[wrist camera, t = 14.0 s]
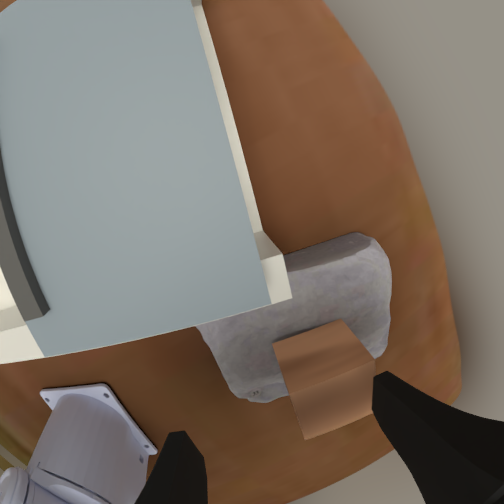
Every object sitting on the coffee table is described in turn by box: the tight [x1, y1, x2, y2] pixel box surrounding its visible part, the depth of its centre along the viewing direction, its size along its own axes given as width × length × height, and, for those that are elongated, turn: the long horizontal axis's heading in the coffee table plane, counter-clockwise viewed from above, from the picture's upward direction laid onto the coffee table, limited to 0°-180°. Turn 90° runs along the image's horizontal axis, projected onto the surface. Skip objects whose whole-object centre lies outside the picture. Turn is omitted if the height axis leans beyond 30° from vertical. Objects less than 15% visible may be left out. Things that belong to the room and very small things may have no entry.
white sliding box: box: [0, 0, 292, 364], centre depth 11 cm, size 18×24×6 cm
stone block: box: [196, 232, 392, 403], centre depth 18 cm, size 12×5×10 cm
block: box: [272, 319, 376, 440], centre depth 13 cm, size 4×4×4 cm
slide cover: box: [0, 0, 272, 357], centre depth 8 cm, size 16×10×2 cm, turn 14°
